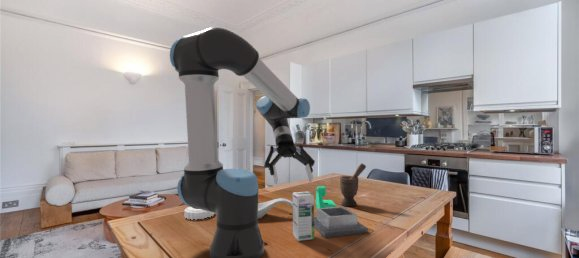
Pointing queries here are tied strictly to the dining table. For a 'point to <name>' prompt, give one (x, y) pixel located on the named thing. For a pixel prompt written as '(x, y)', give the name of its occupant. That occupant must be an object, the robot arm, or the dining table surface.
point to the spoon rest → (271, 205)
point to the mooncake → (197, 213)
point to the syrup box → (303, 215)
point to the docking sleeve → (337, 222)
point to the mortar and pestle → (350, 187)
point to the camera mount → (319, 200)
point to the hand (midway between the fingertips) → (294, 180)
